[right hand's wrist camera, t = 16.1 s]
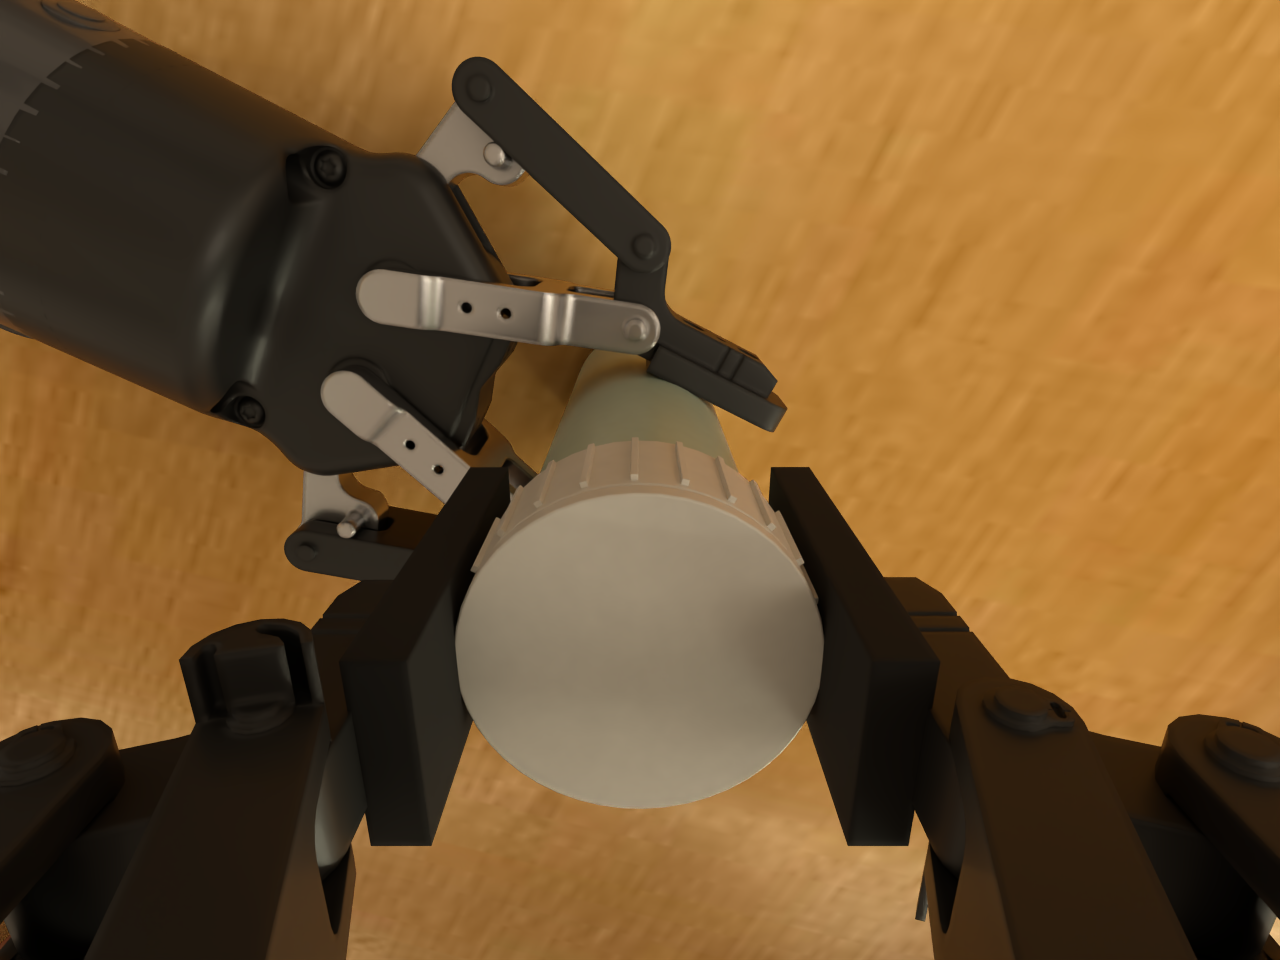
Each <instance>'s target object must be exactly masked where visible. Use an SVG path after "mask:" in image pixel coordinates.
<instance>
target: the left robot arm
mask: <svg viewBox="0 0 1280 960" xmlns="http://www.w3.org/2000/svg"><path fill="white" fill-rule="evenodd" d="M452 93H453V97H454V100H455V102H454V104H453V105H452V106H451V108H450V109H449V111H448V112H447V113H446V115H445V116H444V118H443V119H442V120H441V122H440V123H439V124H438V126H437V127H436V129H435V130H434V131H433V133H432V134H431V135H430V137H429V138H428V140H427V141H426V142H425V144H424V145H423V147H422V148H421V149H420V151H419V152H418V153H417V155H416V156H415V155H412V154H407V153H370V152H368V151H366V150H363V149H361V148H359V147H357V146H354V145H352V144H351V143H349V142H347V141H345V140H343V139H341V138H339V137H337V136H335V135H333V134H331V133H329V132H327V131H326V130H324V129H322V128H320V127H318V126H316V125H314V124H312V123H310V122H308V121H306V120H304V119H302V118H300V117H299V116H297V115H295V114H293V113H291V112H289V111H287V110H285V109H283V108H281V107H279V106H277V105H275V104H274V103H272V102H270V101H268V100H266V99H264V98H262V97H260V96H258V95H256V94H254V93H252V92H250V91H249V90H247V89H245V88H243V87H241V86H239V85H237V84H235V83H233V82H231V81H229V80H227V79H225V78H223V77H222V76H220V75H218V74H216V73H214V72H212V71H210V70H208V69H206V68H204V67H202V66H201V65H199V64H197V63H195V62H193V61H191V60H189V59H187V58H185V57H183V56H181V55H179V54H177V53H176V52H174V51H172V50H170V49H168V48H166V47H164V46H161V45H159V44H157V43H155V42H153V41H152V40H150V39H148V38H146V37H144V36H142V35H140V34H138V33H136V32H134V31H133V30H131V29H129V28H127V27H125V26H123V25H121V24H119V23H117V22H115V21H114V20H112V19H110V18H109V17H107V16H105V15H103V14H101V13H99V12H98V11H96V10H94V9H92V8H89V7H87V6H85V5H83V4H81V3H79V2H77V1H76V0H0V328H2V329H4V330H6V331H9V332H11V333H14V334H17V335H20V336H24V337H27V338H31V339H35V340H38V341H40V342H42V343H44V344H47V345H49V346H51V347H54V348H56V349H58V350H60V351H63V352H65V353H67V354H69V355H72V356H74V357H76V358H78V359H81V360H83V361H85V362H87V363H90V364H92V365H94V366H96V367H99V368H101V369H103V370H106V371H108V372H110V373H112V374H115V375H117V376H119V377H121V378H124V379H126V380H128V381H130V382H133V383H135V384H137V385H139V386H142V387H144V388H146V389H149V390H151V391H153V392H155V393H158V394H160V395H162V396H164V397H167V398H169V399H171V400H173V401H176V402H178V403H180V404H182V405H185V406H187V407H189V408H192V409H194V410H196V411H198V412H201V413H203V414H206V415H209V416H212V417H215V418H219V419H222V420H226V421H229V422H233V423H236V424H240V425H243V426H246V427H249V428H252V429H254V430H256V431H258V432H260V433H261V434H263V435H264V436H265V437H267V438H268V439H269V440H270V441H271V442H273V443H274V444H275V445H276V446H277V447H278V448H279V449H280V450H281V452H282V453H283V454H284V455H285V456H286V457H287V458H288V460H289V461H291V462H292V463H293V464H294V465H295V466H297V467H298V468H300V469H302V470H304V480H303V505H302V522H301V524H300V526H299V527H298V529H297V530H296V531H295V532H293V533H292V534H291V535H290V536H289V537H288V538H287V540H286V542H285V545H284V551H285V555H286V557H287V559H288V560H289V562H290V563H291V564H292V565H294V566H295V567H297V568H298V569H301V570H303V571H308V572H314V573H319V574H325V575H331V576H337V577H342V578H348V579H354V580H359V581H362V580H394V579H395V577H396V576H397V575H398V573H399V572H400V570H401V569H402V567H403V566H404V564H405V563H406V561H407V560H408V558H409V557H410V555H411V554H412V552H413V551H414V549H415V548H416V546H417V545H418V544H419V542H420V541H421V539H422V538H423V536H424V535H425V533H426V532H427V530H428V529H429V527H430V526H431V524H432V523H433V521H434V520H435V518H436V517H437V515H435V514H430V513H424V512H419V511H413V510H408V509H403V508H397V507H392V506H388V503H387V501H386V499H385V497H384V495H383V494H382V493H381V492H380V491H377V490H374V489H371V488H368V487H365V486H363V485H362V484H360V483H359V482H358V481H357V480H356V478H355V477H354V475H353V472H359V471H366V470H372V469H379V468H385V467H392V466H398V465H400V466H401V467H402V468H403V469H404V470H405V471H407V472H408V473H409V474H410V475H411V476H412V477H414V478H415V479H416V480H417V481H418V482H420V483H421V484H422V485H423V486H424V487H425V488H427V489H428V490H429V491H430V492H431V493H432V494H434V495H435V496H436V497H437V498H438V499H439V500H441V501H442V502H443V503H444V504H446V502H447V501H448V499H449V498H450V496H451V495H452V493H453V492H454V490H455V489H456V487H457V486H458V484H459V483H460V481H461V480H462V479H463V477H464V476H465V474H466V473H467V471H468V470H469V468H470V467H508V471H509V486H510V500H512V497H513V495H514V493H515V491H516V489H517V488H518V487H519V486H520V485H521V486H522V487H523V488H524V487H525V486H526V485H527V484H528V483H529V482H530V481H531V480H532V479H534V478H535V477H536V476H537V475H538V474H537V473H536V472H534V471H533V470H532V469H531V468H530V467H529V466H528V465H527V464H526V463H524V462H523V461H522V460H521V459H520V458H519V457H518V456H517V455H516V454H515V452H514V451H513V448H512V446H511V444H510V443H509V441H508V440H507V439H506V438H505V437H504V436H503V435H502V434H501V433H500V432H499V431H498V430H497V429H496V428H494V427H493V426H492V425H491V424H490V423H489V422H488V421H487V420H486V419H485V418H484V417H485V415H486V412H487V410H488V408H489V406H490V403H491V401H492V393H493V386H494V379H495V374H496V372H497V370H498V369H499V368H500V367H501V365H502V364H503V363H504V362H505V361H506V359H507V358H508V357H509V356H510V355H511V353H512V352H513V351H514V349H515V347H516V344H517V342H523V343H530V344H536V345H546V346H555V345H570V346H577V347H584V348H591V349H597V350H604V351H611V352H618V353H625V354H632V355H638V356H640V357H642V358H644V359H646V368H647V371H648V372H650V373H652V374H654V375H656V376H658V377H660V378H662V379H664V380H666V381H668V382H670V383H672V384H675V385H677V386H679V387H681V388H683V389H685V390H687V391H689V392H690V393H692V394H694V395H696V396H698V397H700V398H702V399H704V400H706V401H708V402H710V403H712V404H714V405H716V406H718V407H720V408H722V409H724V410H726V411H728V412H730V413H732V414H734V415H736V416H738V417H740V418H742V419H744V420H746V421H748V422H750V423H752V424H754V425H756V426H758V427H760V428H762V429H764V430H767V431H769V432H774V431H775V429H776V427H777V426H778V424H779V422H780V421H781V419H782V417H783V415H784V414H785V412H786V410H787V407H786V406H785V404H784V403H783V402H782V401H781V399H780V398H779V397H778V396H777V395H776V394H775V393H773V392H772V390H773V388H774V386H775V385H776V383H777V380H776V379H775V377H774V376H773V375H772V374H771V373H770V371H769V370H768V369H767V368H766V366H765V365H764V364H763V363H762V362H761V361H760V359H759V358H758V357H757V356H756V355H755V354H753V353H751V352H749V351H747V350H745V349H743V348H741V347H740V346H737V345H736V344H734V343H732V342H730V341H728V340H726V339H724V338H722V337H720V336H718V335H716V334H714V333H713V332H711V331H709V330H707V329H705V328H703V327H701V326H699V325H697V324H695V323H693V322H691V321H689V320H687V319H685V318H684V317H682V316H680V315H678V314H676V313H675V312H674V311H673V310H672V309H671V308H670V307H669V306H668V304H667V302H666V300H665V283H666V276H667V268H668V260H669V255H670V251H671V241H670V237H669V234H668V232H667V230H666V229H665V228H664V227H663V225H662V224H660V223H659V222H658V221H657V220H656V219H655V218H654V217H653V216H652V215H651V214H650V213H649V212H648V211H647V210H646V209H645V208H644V207H643V206H642V205H641V204H640V203H639V202H638V201H637V200H636V199H635V198H634V197H633V196H632V195H631V194H630V193H629V192H628V191H627V190H625V189H624V188H623V187H622V186H621V185H620V184H619V183H618V182H617V181H616V180H615V179H614V178H613V177H612V176H611V175H610V174H609V173H608V172H607V171H606V170H605V169H604V168H603V167H602V166H601V165H600V164H599V163H598V162H597V161H596V160H595V159H594V158H593V157H591V156H590V155H589V154H588V153H587V152H586V151H585V150H584V149H583V148H582V147H581V146H580V145H579V144H578V143H577V142H576V141H575V140H574V139H573V138H572V137H571V136H570V135H569V134H568V133H567V132H566V131H565V130H564V129H563V128H562V127H561V126H560V125H559V124H558V123H556V122H555V121H554V120H553V119H552V118H551V117H550V116H549V115H548V114H547V113H546V112H545V111H544V110H543V109H542V108H541V107H540V106H539V105H538V104H537V103H536V102H535V101H534V100H533V99H532V98H531V97H530V96H529V95H528V94H527V93H526V92H525V91H524V90H523V89H521V88H520V87H519V86H518V85H517V84H516V83H515V82H514V81H513V80H512V79H511V78H510V77H509V76H508V75H507V74H506V73H505V72H504V71H503V70H502V69H501V68H500V67H499V66H498V65H497V64H495V63H494V62H493V61H491V60H489V59H487V58H484V57H472V58H469V59H467V60H465V61H463V62H462V63H461V64H460V65H459V66H458V68H457V69H456V71H455V73H454V76H453V79H452ZM472 175H480V176H482V177H483V178H485V179H486V180H488V181H489V182H491V183H493V184H497V185H501V186H506V187H511V186H516V185H518V184H520V183H522V182H523V181H524V180H525V179H526V178H527V177H528V175H530V176H531V177H533V178H534V179H535V180H536V181H537V182H538V183H539V184H540V185H541V186H542V187H543V188H544V189H545V190H546V191H547V192H548V193H550V194H551V195H552V196H553V197H554V198H555V199H556V200H557V201H558V202H559V203H560V204H561V205H562V206H563V207H564V208H566V209H567V210H568V211H569V212H570V213H571V214H572V215H573V216H574V217H575V218H576V219H577V220H578V221H579V222H580V223H582V224H583V225H584V226H585V227H586V228H587V229H588V230H589V231H590V232H591V233H592V234H593V235H594V236H595V237H596V238H598V239H599V240H600V241H601V242H602V243H603V244H604V245H605V246H606V247H607V248H608V249H609V250H610V251H611V252H612V253H614V254H615V255H616V256H617V257H618V260H617V270H616V280H615V290H610V289H604V288H597V287H590V286H584V285H578V284H574V283H571V282H567V281H562V280H556V279H550V278H543V277H536V276H530V275H523V274H516V273H510V272H506V270H505V269H504V267H503V265H502V263H501V261H500V260H499V258H498V256H497V254H496V252H495V251H494V249H493V247H492V245H491V243H490V242H489V240H488V238H487V236H486V235H485V233H484V231H483V229H482V227H481V226H480V224H479V222H478V220H477V218H476V217H475V215H474V213H473V211H472V209H471V208H470V206H469V204H468V202H467V200H466V199H465V197H464V195H463V193H462V192H461V190H460V188H459V186H458V184H459V183H460V182H461V181H462V180H463V179H464V178H466V177H468V176H472ZM441 466H442V467H441Z"/></svg>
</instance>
